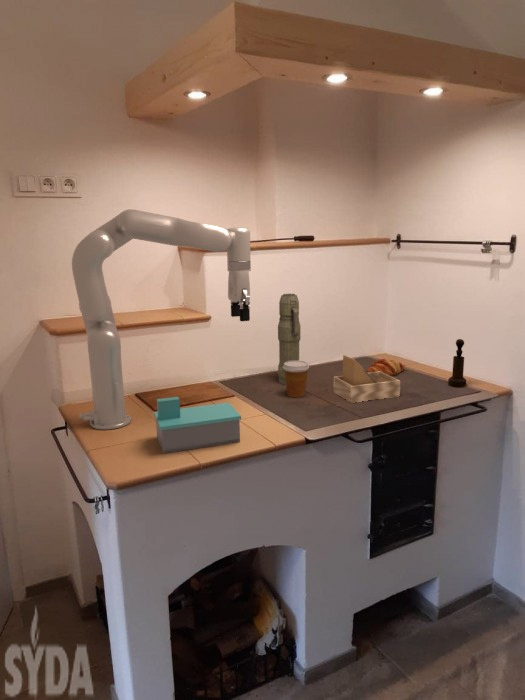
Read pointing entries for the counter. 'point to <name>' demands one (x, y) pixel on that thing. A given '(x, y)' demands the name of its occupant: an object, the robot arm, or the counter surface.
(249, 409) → the counter surface
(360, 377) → the sandwich container
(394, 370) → the croissant
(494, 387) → the counter surface
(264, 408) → the counter surface
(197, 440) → the tub
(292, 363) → the disposable coffee cup
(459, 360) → the dark brown tall piece
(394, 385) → the open rectangular storage box
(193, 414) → the lid
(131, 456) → the counter surface
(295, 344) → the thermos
